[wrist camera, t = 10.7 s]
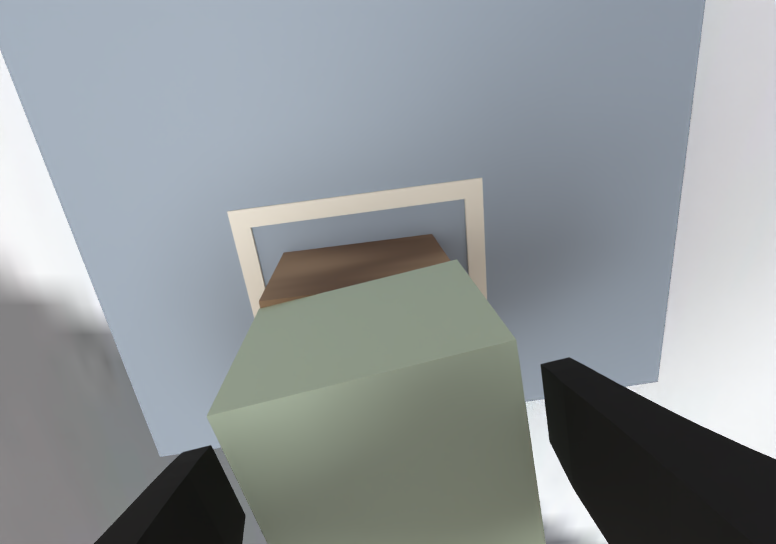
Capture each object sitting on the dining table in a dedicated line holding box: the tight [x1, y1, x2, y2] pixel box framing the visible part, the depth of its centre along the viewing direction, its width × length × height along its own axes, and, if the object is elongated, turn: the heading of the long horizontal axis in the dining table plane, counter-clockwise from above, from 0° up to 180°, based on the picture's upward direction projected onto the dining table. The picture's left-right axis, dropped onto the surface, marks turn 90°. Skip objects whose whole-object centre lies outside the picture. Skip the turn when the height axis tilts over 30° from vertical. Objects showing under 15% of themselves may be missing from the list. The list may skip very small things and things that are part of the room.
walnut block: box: [259, 234, 450, 308], centre depth 13 cm, size 5×5×4 cm
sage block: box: [206, 259, 546, 544], centre depth 9 cm, size 5×5×4 cm
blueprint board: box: [0, 0, 705, 457], centre depth 14 cm, size 20×18×1 cm
